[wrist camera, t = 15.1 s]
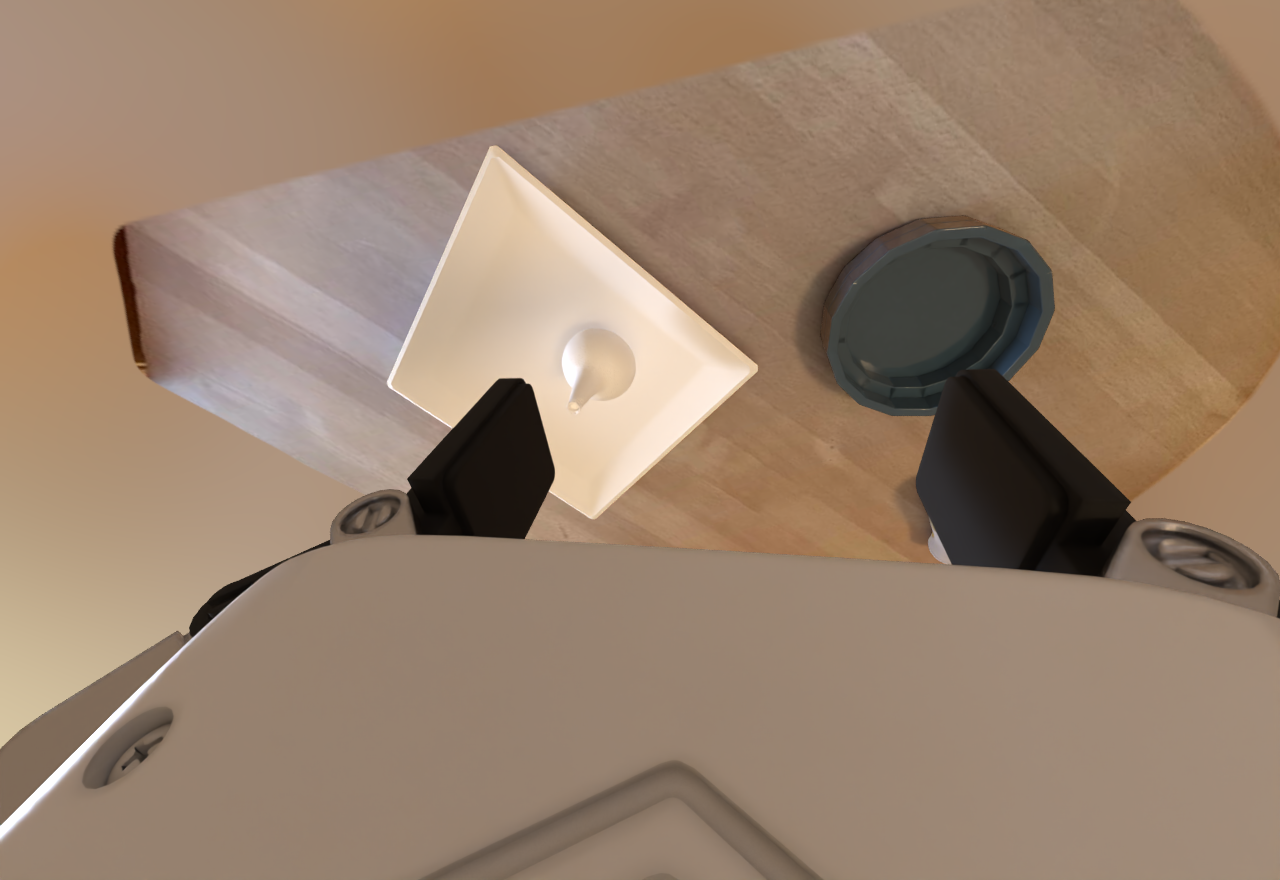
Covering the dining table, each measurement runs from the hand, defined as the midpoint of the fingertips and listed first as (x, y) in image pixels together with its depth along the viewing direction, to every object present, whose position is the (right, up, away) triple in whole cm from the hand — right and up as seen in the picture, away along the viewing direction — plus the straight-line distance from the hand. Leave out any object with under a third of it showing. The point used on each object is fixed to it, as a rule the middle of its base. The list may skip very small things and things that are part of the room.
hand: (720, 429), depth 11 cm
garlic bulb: (-5, +7, +29) cm, 30 cm away
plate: (-9, +7, +33) cm, 35 cm away
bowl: (+20, +10, +24) cm, 33 cm away
